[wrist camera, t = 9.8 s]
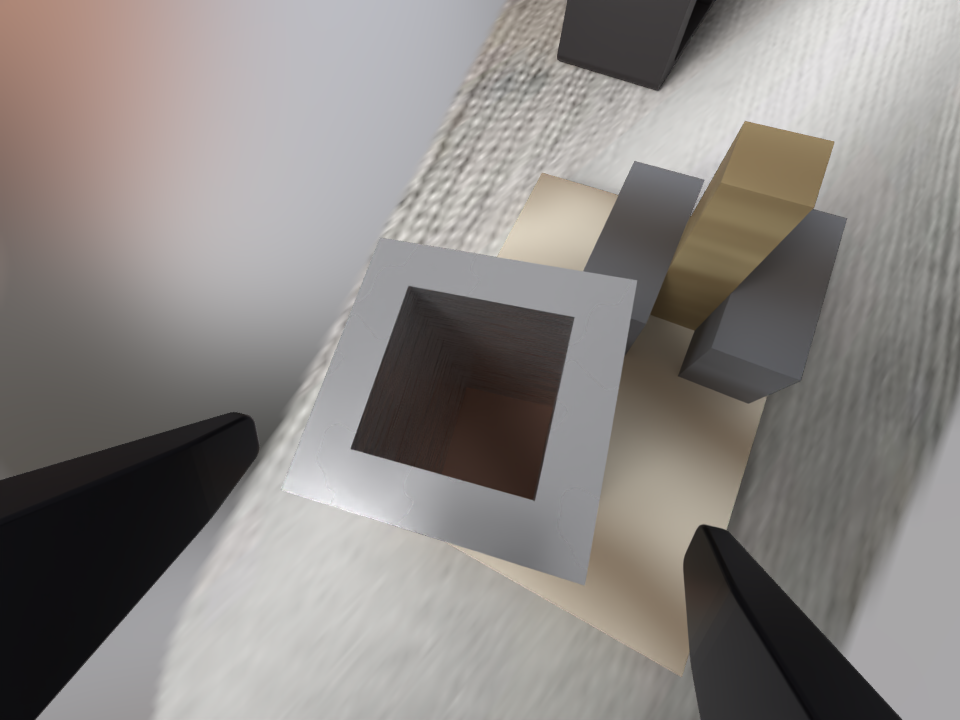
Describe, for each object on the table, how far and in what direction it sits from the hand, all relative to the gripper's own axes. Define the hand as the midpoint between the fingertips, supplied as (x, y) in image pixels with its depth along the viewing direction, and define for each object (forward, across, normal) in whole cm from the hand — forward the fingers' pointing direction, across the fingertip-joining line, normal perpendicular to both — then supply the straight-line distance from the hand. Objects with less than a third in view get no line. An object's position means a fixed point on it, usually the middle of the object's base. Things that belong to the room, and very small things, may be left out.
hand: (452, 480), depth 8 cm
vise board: (+10, -3, +2) cm, 10 cm away
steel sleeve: (+6, 0, +4) cm, 7 cm away
